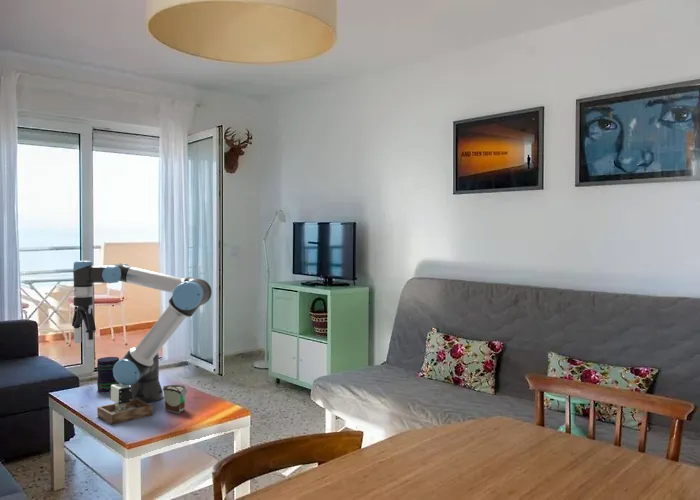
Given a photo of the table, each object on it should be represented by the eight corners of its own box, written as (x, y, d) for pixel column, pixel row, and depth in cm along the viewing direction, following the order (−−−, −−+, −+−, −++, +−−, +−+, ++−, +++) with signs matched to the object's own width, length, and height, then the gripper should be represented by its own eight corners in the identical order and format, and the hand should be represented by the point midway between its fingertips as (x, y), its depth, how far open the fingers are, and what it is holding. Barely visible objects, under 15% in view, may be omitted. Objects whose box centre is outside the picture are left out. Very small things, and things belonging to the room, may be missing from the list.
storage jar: (115, 386, 280) (115, 355, 280) (122, 390, 273) (122, 359, 272) (94, 389, 274) (94, 358, 273) (100, 393, 266) (100, 362, 266)
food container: (193, 410, 242) (193, 387, 241) (181, 414, 237) (181, 390, 236) (174, 405, 249) (174, 382, 248) (162, 409, 244) (162, 385, 243)
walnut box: (137, 407, 245) (137, 398, 245) (152, 414, 236) (152, 405, 235) (97, 416, 233) (97, 407, 233) (111, 424, 223) (111, 414, 223)
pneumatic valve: (120, 416, 229) (120, 387, 229) (108, 410, 238) (109, 381, 237) (133, 414, 233) (134, 384, 233) (121, 407, 241) (122, 379, 241)
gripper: (63, 294, 252) (64, 342, 253) (85, 299, 235) (86, 350, 236) (81, 293, 258) (81, 339, 258) (103, 297, 240) (104, 347, 241)
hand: (83, 345), depth 247 cm, fingers open, 13 cm apart
